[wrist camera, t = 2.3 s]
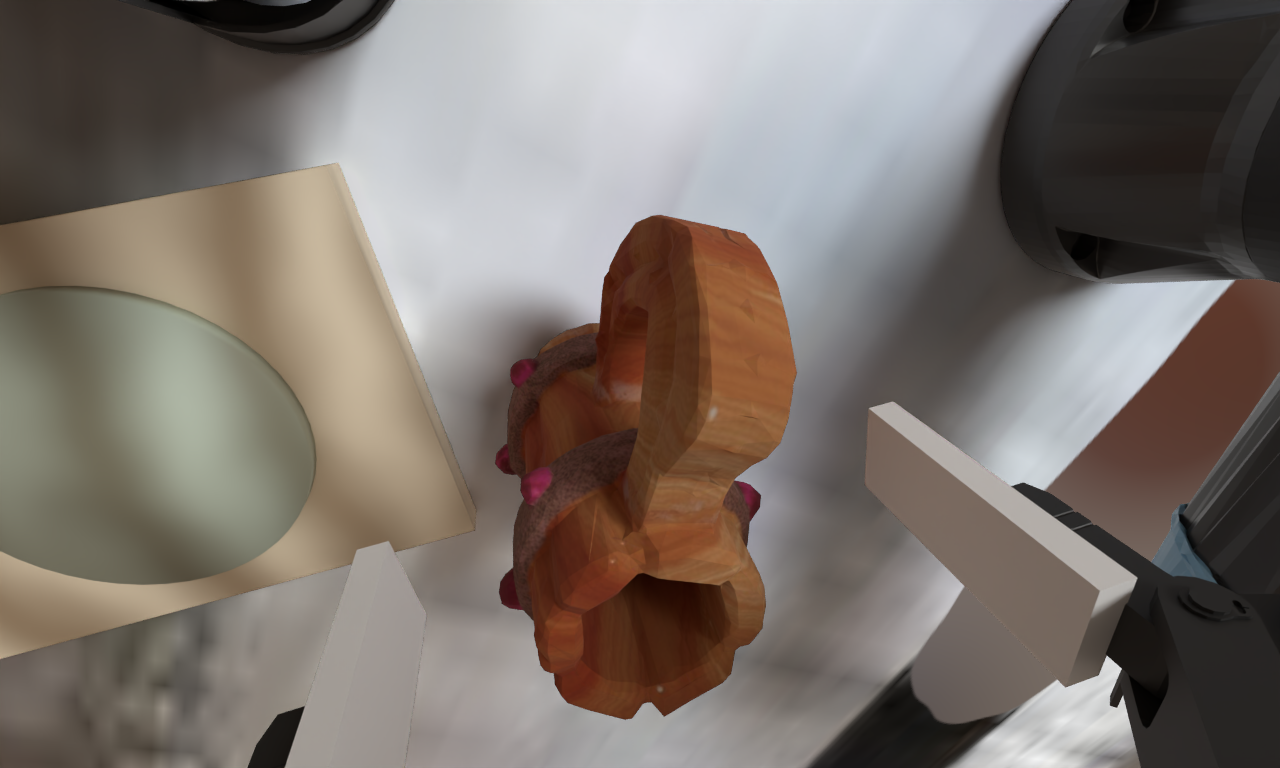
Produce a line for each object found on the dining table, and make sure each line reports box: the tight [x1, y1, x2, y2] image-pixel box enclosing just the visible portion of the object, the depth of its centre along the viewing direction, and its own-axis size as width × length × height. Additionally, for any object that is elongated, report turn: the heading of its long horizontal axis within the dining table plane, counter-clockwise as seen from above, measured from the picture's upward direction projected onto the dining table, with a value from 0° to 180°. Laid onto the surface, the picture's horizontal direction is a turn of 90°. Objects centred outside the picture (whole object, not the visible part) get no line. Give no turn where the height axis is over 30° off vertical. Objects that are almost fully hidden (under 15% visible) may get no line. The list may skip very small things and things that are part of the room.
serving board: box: [0, 163, 476, 659], centre depth 22 cm, size 22×17×2 cm
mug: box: [495, 215, 797, 720], centre depth 19 cm, size 15×8×15 cm, turn 167°
